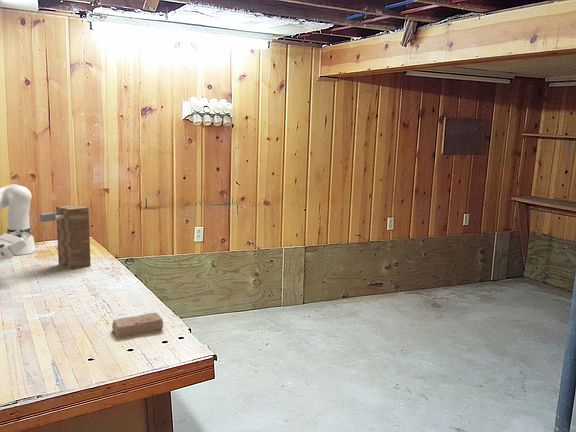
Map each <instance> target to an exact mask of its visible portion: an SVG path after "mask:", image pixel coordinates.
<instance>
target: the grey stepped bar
mask: <svg viewBox="0 0 576 432" xmlns="http://www.w3.org/2000/svg"><path fill="white" fill-rule="evenodd" d="M62 218H65V215H64V214H63V215H57V216H56V212H52V211H51V212H45V213H39V219H40V220H39V222H43V223H46V222H53V221H57V219H62Z"/></svg>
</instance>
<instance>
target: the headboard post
mask: <svg viewBox="0 0 576 432" xmlns="http://www.w3.org/2000/svg"><path fill="white" fill-rule="evenodd" d="M89 213H90V212H89V207H86V206H81V205H75V204H71V205H69V204H68V205H60V206H55V216H57V215H63V214H64V215H65V218H62V219H56V233H57V234H56V235H57V254H58V256H57V257H58V266H61V267H64V268H67V269H70V270H77V269H82V268H88V267H91V264H92V263H91V244H90V243H91V240H90V236H91V235H90V216H89V215H90V214H89Z"/></svg>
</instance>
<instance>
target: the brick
mask: <svg viewBox="0 0 576 432" xmlns="http://www.w3.org/2000/svg"><path fill="white" fill-rule="evenodd" d="M163 320H164V319H163V317H162V316H161V315H160V314H159V313H157V312H150V313H143V314H141V315H137V316H136V315H134V316H126V317H122V318H115V319H114V320H112V321H113V322H112V324H111V325H112V332H113V334H114V335H115V337H116V338H124V337H128V336H133V335H134V336H135V335H141V334H147V333H152V332H156V331H159V330H162V329H163V327H164V322H163Z"/></svg>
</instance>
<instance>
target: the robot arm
mask: <svg viewBox="0 0 576 432" xmlns="http://www.w3.org/2000/svg"><path fill="white" fill-rule="evenodd" d="M32 196H33V195H32V193H31V191H30V190H29V188H27V187H25V186H23V185H19V184H17V183H16V184H15V183H14V184H13V183H12V184H8V185H6V186H2V187H0V211H1V210H3V209H5V208H7V207H8V212H7V216H6V219H7V229H6V232H5V233H2V234H1V235H0V262H2V261H4V260H8V259H12V258H14V256H22V255H23V256H24V255H30V254H32V253H35V252H36V251H38V248H37V247H36V246H35V239H34V236H33V235H32V229H31V226H30V223H31V222H30V209H31V202H32V198H33V197H32Z"/></svg>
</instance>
